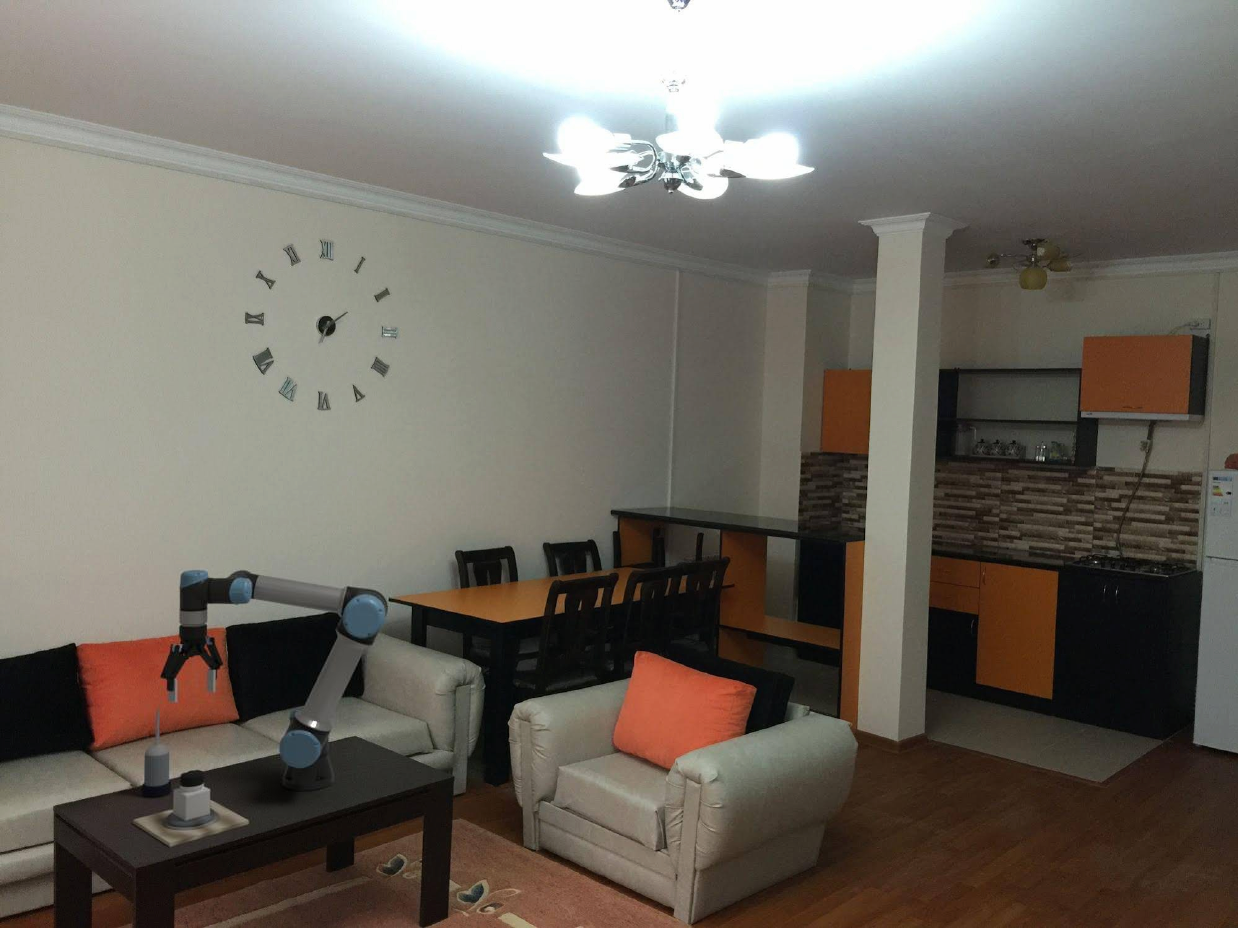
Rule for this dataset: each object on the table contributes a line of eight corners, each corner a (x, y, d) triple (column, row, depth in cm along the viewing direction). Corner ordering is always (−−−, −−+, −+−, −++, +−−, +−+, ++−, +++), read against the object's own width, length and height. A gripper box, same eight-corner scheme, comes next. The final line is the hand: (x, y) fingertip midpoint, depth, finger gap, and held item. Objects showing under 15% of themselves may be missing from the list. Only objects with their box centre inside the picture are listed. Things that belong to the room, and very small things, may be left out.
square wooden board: (210, 802, 299) (210, 794, 299) (248, 823, 284) (248, 814, 284) (133, 823, 282) (133, 814, 282) (169, 846, 268) (170, 837, 268)
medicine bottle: (210, 814, 284) (211, 771, 283) (185, 821, 278) (186, 777, 278) (197, 807, 288) (198, 765, 288) (172, 814, 283) (173, 771, 282)
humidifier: (174, 787, 310) (175, 705, 309) (168, 797, 302) (169, 713, 301) (145, 788, 308) (146, 706, 307) (138, 798, 300) (139, 714, 299)
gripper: (218, 615, 311) (217, 685, 312) (147, 629, 288) (146, 704, 289) (236, 618, 307) (235, 688, 308) (166, 632, 285) (165, 708, 286)
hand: (192, 696), depth 299 cm, fingers open, 13 cm apart
